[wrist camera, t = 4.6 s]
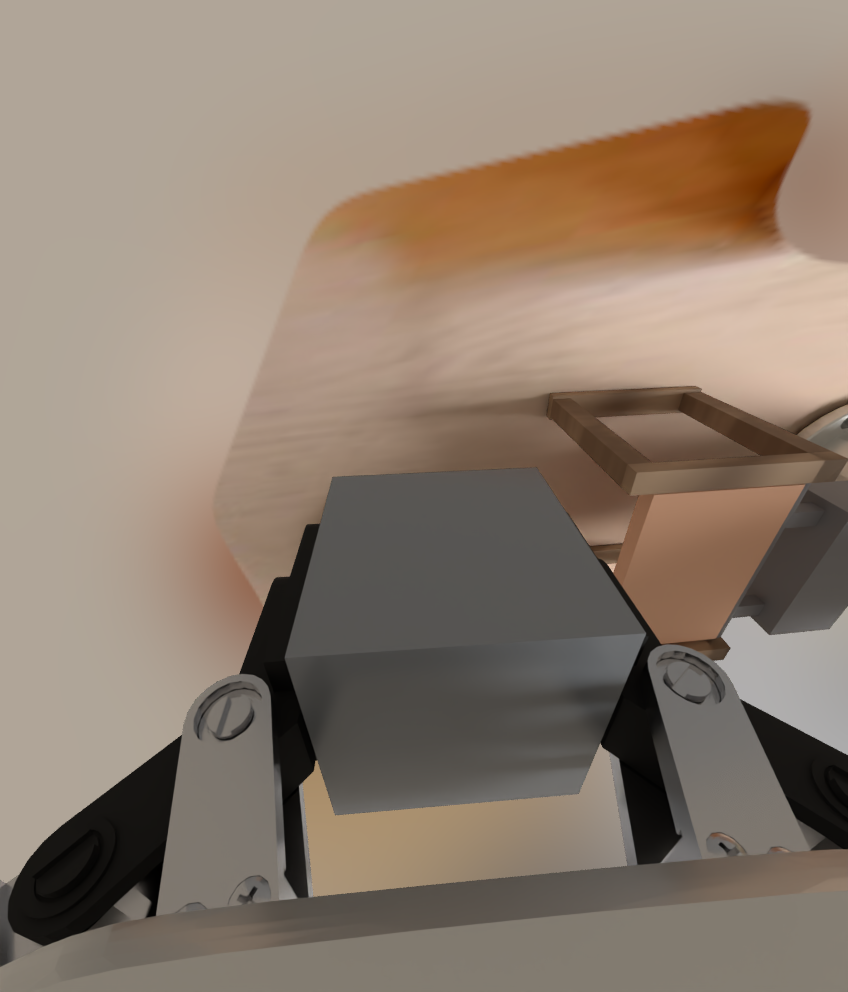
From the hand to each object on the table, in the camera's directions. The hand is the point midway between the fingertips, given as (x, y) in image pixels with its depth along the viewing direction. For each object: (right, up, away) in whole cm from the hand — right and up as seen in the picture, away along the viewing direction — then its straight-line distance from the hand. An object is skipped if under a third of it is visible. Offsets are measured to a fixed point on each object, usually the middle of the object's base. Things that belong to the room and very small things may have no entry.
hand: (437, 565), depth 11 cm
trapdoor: (+17, -2, +14) cm, 22 cm away
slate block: (0, 0, +1) cm, 1 cm away
